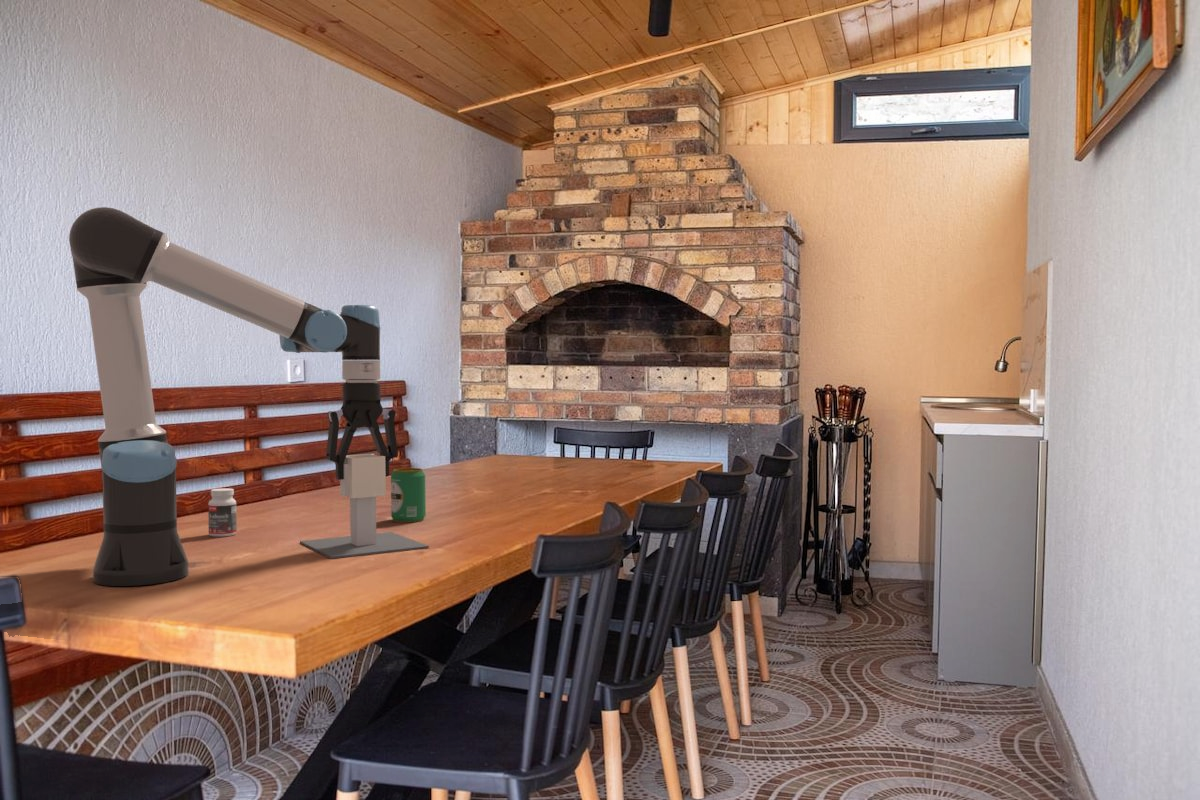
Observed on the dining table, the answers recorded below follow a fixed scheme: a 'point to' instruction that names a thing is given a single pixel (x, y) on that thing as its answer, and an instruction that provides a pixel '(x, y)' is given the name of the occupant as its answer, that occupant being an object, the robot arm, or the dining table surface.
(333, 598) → the dining table surface
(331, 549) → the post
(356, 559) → the dining table surface
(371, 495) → the cream square sleeve
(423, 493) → the beverage can
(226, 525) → the pill bottle
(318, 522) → the dining table surface
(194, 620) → the dining table surface
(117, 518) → the robot arm
